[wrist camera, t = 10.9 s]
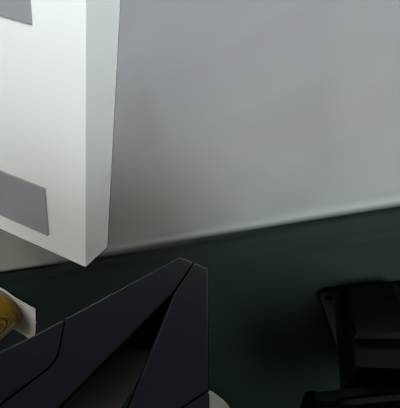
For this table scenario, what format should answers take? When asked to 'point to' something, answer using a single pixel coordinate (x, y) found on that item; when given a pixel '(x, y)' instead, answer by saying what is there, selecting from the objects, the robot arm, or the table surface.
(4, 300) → the condiment
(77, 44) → the box
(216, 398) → the thermos bottle
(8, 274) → the table surface
